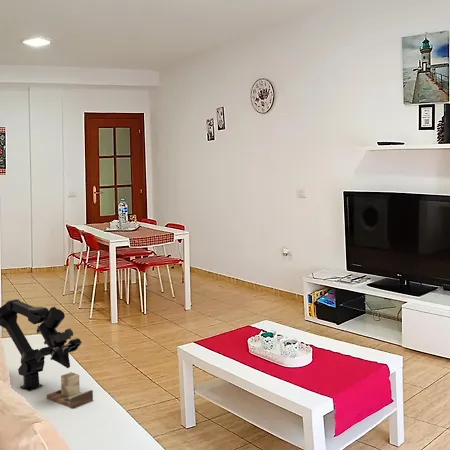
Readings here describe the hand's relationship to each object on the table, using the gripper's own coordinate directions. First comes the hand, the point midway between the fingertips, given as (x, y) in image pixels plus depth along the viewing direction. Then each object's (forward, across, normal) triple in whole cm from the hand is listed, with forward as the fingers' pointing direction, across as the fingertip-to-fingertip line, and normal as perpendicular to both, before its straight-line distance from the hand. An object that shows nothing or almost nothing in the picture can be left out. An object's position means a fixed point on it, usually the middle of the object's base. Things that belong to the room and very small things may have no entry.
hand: (68, 367), depth 225 cm
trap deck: (+9, +1, +11) cm, 14 cm away
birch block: (+6, +3, +11) cm, 13 cm away
